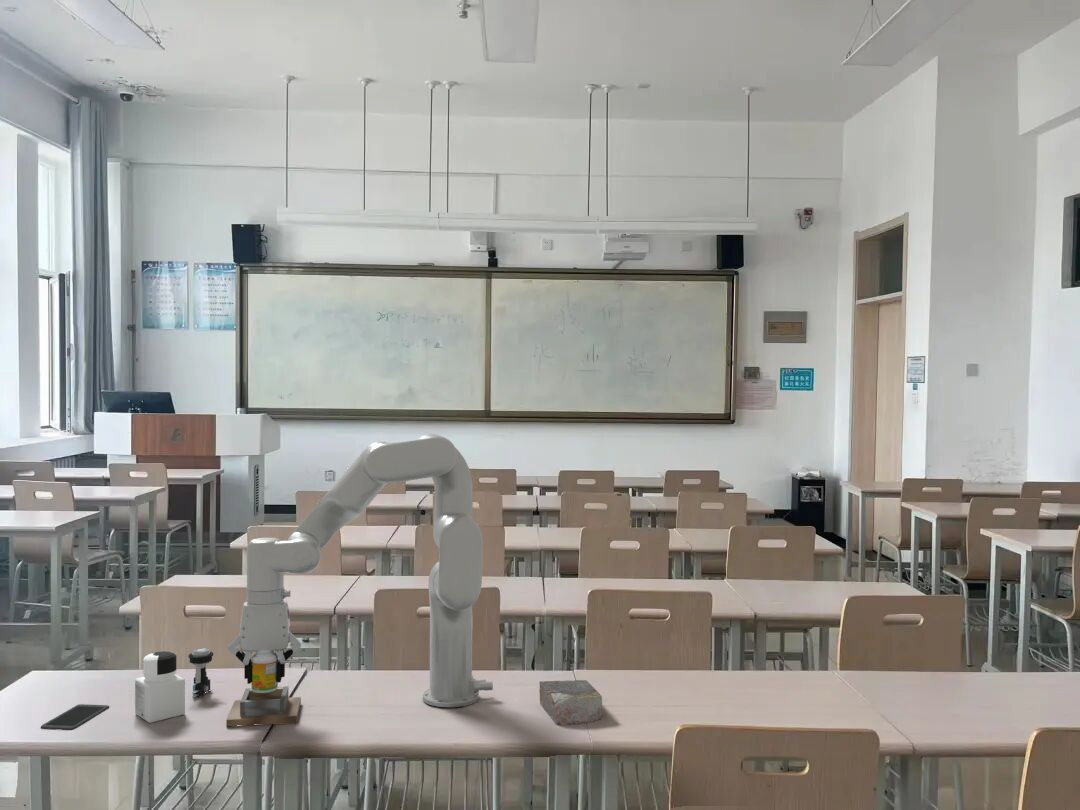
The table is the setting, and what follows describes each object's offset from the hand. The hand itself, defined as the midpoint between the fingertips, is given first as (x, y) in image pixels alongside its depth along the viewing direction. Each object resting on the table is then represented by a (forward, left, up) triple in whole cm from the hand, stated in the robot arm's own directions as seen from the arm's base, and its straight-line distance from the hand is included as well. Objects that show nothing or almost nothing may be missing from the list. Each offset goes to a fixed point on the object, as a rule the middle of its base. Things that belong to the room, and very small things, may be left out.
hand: (264, 680), depth 198 cm
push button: (+16, -16, -8) cm, 24 cm away
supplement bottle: (0, 0, -2) cm, 2 cm away
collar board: (0, 0, -7) cm, 7 cm away
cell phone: (+39, -5, -8) cm, 40 cm away
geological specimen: (-65, +8, -8) cm, 66 cm away
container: (+22, -4, -8) cm, 24 cm away
